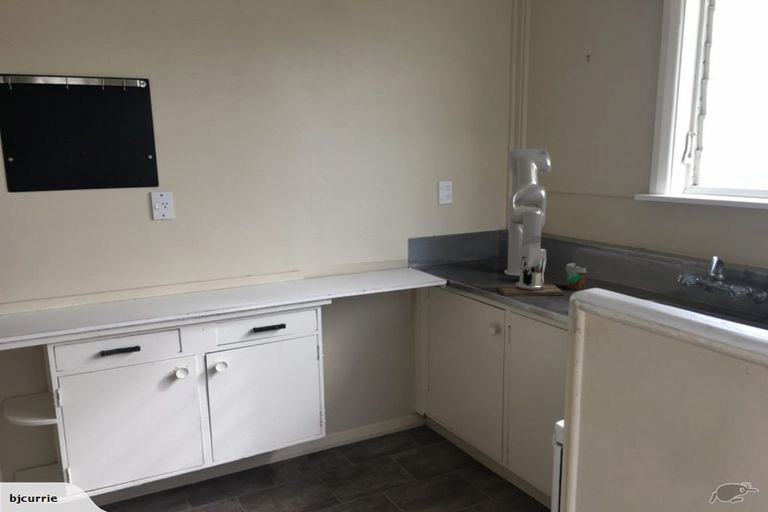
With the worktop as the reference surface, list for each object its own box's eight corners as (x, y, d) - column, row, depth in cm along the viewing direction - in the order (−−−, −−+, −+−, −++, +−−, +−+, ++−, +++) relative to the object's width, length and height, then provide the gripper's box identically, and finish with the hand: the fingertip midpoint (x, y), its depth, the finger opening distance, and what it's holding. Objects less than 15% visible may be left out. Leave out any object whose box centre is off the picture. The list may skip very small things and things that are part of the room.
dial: (510, 286, 257) (511, 271, 256) (529, 283, 263) (530, 268, 262) (529, 291, 248) (530, 275, 247) (549, 288, 254) (549, 272, 252)
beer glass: (545, 284, 270) (547, 251, 267) (529, 283, 271) (530, 250, 269) (544, 281, 277) (546, 248, 274) (528, 280, 278) (530, 248, 275)
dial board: (497, 287, 263) (497, 284, 262) (553, 287, 263) (553, 284, 263) (504, 295, 248) (504, 291, 248) (563, 295, 248) (563, 291, 248)
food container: (560, 285, 268) (561, 263, 266) (573, 285, 268) (574, 262, 267) (570, 291, 256) (572, 268, 254) (585, 291, 256) (586, 268, 255)
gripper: (534, 236, 260) (532, 278, 264) (512, 240, 249) (510, 284, 252) (549, 238, 255) (547, 281, 258) (528, 242, 244) (526, 287, 247)
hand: (529, 282), depth 255 cm, fingers closed on dial, 3 cm apart
